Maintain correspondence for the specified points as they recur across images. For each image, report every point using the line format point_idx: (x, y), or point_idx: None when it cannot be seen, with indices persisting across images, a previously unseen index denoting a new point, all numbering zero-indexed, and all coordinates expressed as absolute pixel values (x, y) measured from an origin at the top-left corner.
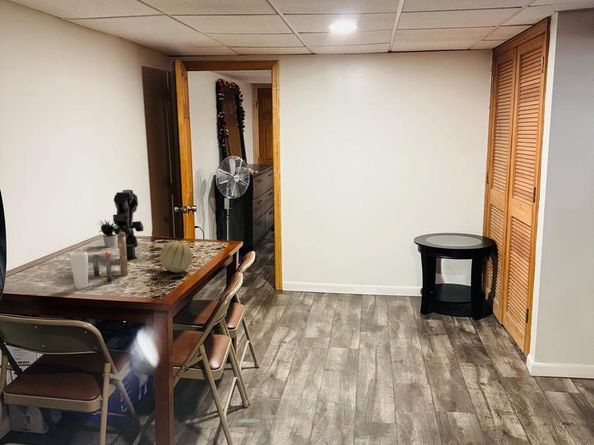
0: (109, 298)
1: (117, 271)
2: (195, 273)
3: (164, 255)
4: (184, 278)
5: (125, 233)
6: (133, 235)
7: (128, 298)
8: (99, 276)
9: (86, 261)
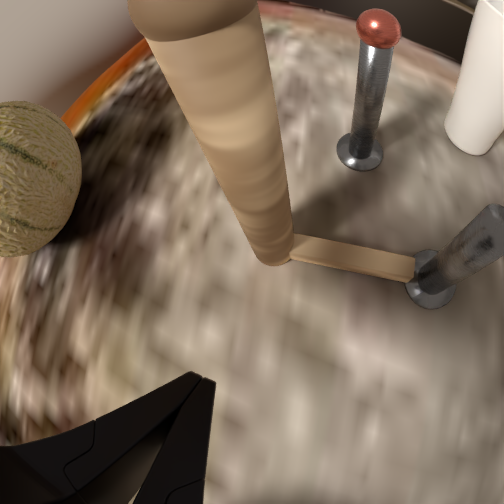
0: (345, 24)
1: (313, 251)
2: None
3: (49, 119)
4: (79, 126)
5: (38, 442)
6: None
7: (291, 14)
8: (417, 264)
9: (471, 23)
